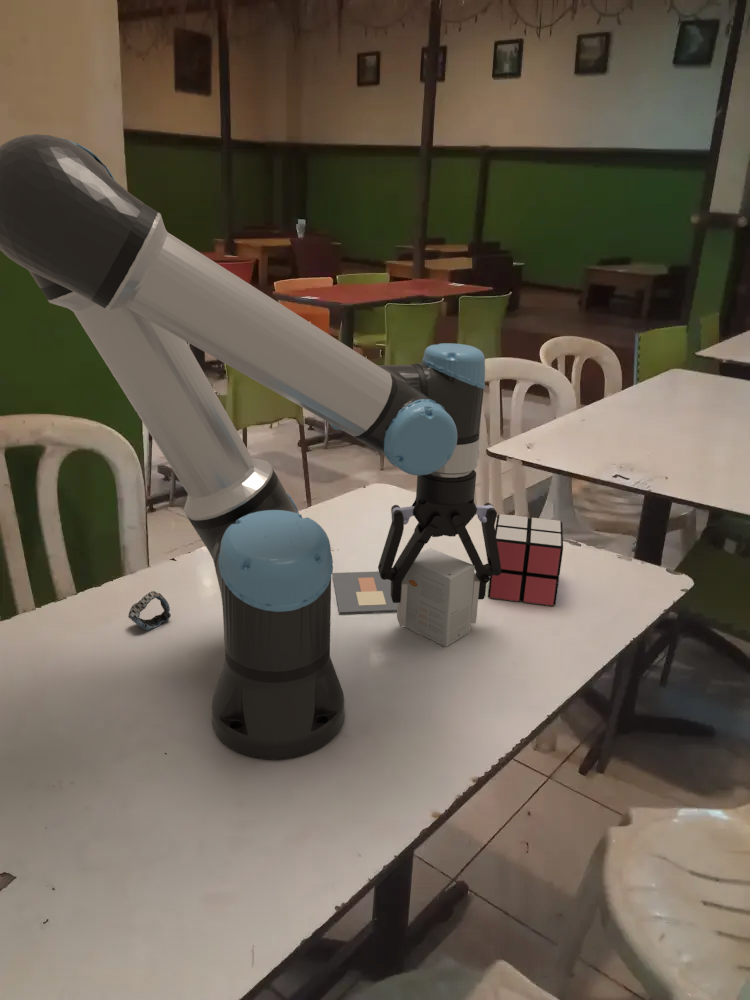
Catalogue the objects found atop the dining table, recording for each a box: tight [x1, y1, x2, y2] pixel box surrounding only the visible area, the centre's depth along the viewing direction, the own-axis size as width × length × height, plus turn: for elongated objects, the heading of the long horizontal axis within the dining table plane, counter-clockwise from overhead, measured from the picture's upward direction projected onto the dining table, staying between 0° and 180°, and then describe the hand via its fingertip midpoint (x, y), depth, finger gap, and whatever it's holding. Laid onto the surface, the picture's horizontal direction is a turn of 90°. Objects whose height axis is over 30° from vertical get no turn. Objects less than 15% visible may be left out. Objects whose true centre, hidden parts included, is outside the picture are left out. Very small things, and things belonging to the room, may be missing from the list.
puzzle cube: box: [487, 513, 564, 607], centre depth 119 cm, size 10×10×10 cm
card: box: [331, 570, 397, 615], centre depth 118 cm, size 10×12×1 cm
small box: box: [403, 547, 476, 648], centre depth 107 cm, size 8×6×10 cm
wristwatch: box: [128, 590, 172, 631], centre depth 107 cm, size 3×5×5 cm
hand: (436, 619), depth 109 cm, fingers closed on small box, 9 cm apart
